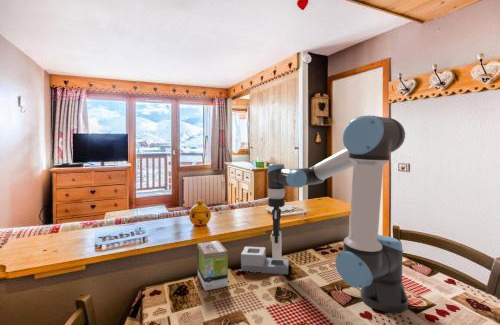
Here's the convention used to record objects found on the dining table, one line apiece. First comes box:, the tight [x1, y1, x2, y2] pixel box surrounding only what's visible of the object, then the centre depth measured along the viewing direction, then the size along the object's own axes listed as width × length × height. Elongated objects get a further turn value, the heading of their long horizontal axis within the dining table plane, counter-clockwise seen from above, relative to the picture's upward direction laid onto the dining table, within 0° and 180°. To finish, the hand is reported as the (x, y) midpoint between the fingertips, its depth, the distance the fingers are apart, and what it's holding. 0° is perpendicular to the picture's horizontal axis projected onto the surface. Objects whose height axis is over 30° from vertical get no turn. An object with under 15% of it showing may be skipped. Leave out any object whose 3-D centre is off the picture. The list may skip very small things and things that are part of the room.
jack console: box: [240, 246, 290, 275], centre depth 124 cm, size 10×21×8 cm, turn 80°
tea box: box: [196, 240, 229, 291], centre depth 112 cm, size 15×10×15 cm, turn 22°
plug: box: [269, 230, 282, 259], centre depth 123 cm, size 4×5×12 cm
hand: (276, 247), depth 122 cm, fingers closed on plug, 4 cm apart
